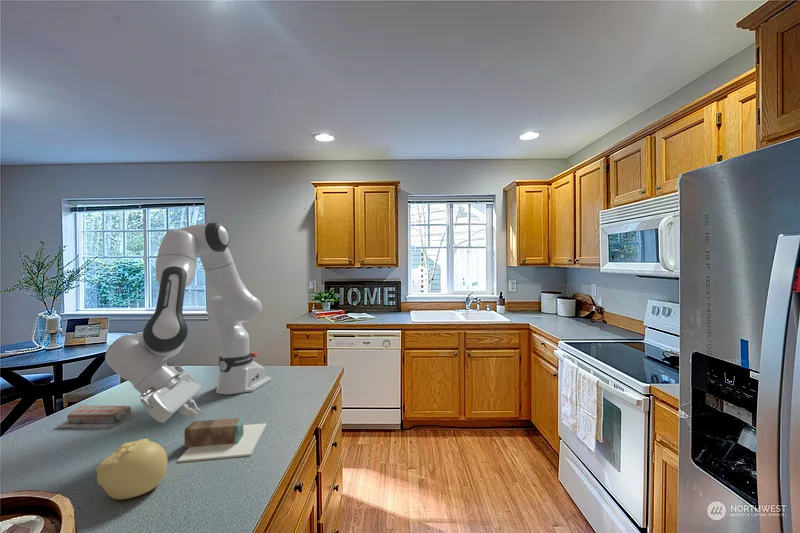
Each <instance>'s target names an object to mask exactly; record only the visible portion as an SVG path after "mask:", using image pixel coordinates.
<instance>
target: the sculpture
mask: <svg viewBox="0 0 800 533" xmlns="http://www.w3.org/2000/svg"><path fill="white" fill-rule="evenodd" d="M168 460H169V459H168V456H167V452H166V450H165V449H164V447H162V446H161V445H160V444H159V443H157V442H153V441H151V440H150V439H149V438H140V439H139V440H134V441H131V442H124V443H123V444H122V445H120V446H119V447H118V448H117V449H116V450H115V451H113V452H112V453H111V454H110V455H109V456H108V457H106V458H105V459H104V460H102V461H101V462H100V463H99V464H98V465H97V467H96V469H95V470H96V476H97V477H96V480H97V484H98V486H100V487H101V488H103V490H104V491H105V493H106V494H107V495H108V497H111V498H112V499H114V500H126V499H132V498H136V497H139V496H142V495H144V494H147V493H148V492H150V491H151V490H154V489H155V488H156V487H157V486H158V485H159V484H160V483H161V481H162V479H163V478H164V476H165V474H166V472H167V467H168Z"/></svg>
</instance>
